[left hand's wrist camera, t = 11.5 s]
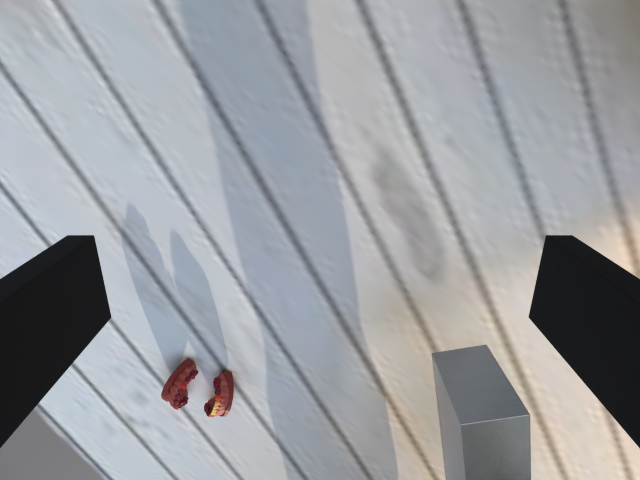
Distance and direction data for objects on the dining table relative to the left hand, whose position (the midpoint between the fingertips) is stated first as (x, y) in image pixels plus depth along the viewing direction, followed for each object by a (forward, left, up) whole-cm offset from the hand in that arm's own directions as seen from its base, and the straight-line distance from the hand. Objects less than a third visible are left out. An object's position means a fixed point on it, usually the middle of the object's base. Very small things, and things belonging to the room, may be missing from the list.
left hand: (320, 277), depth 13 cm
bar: (-6, +32, -18) cm, 37 cm away
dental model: (+21, +25, -31) cm, 45 cm away
